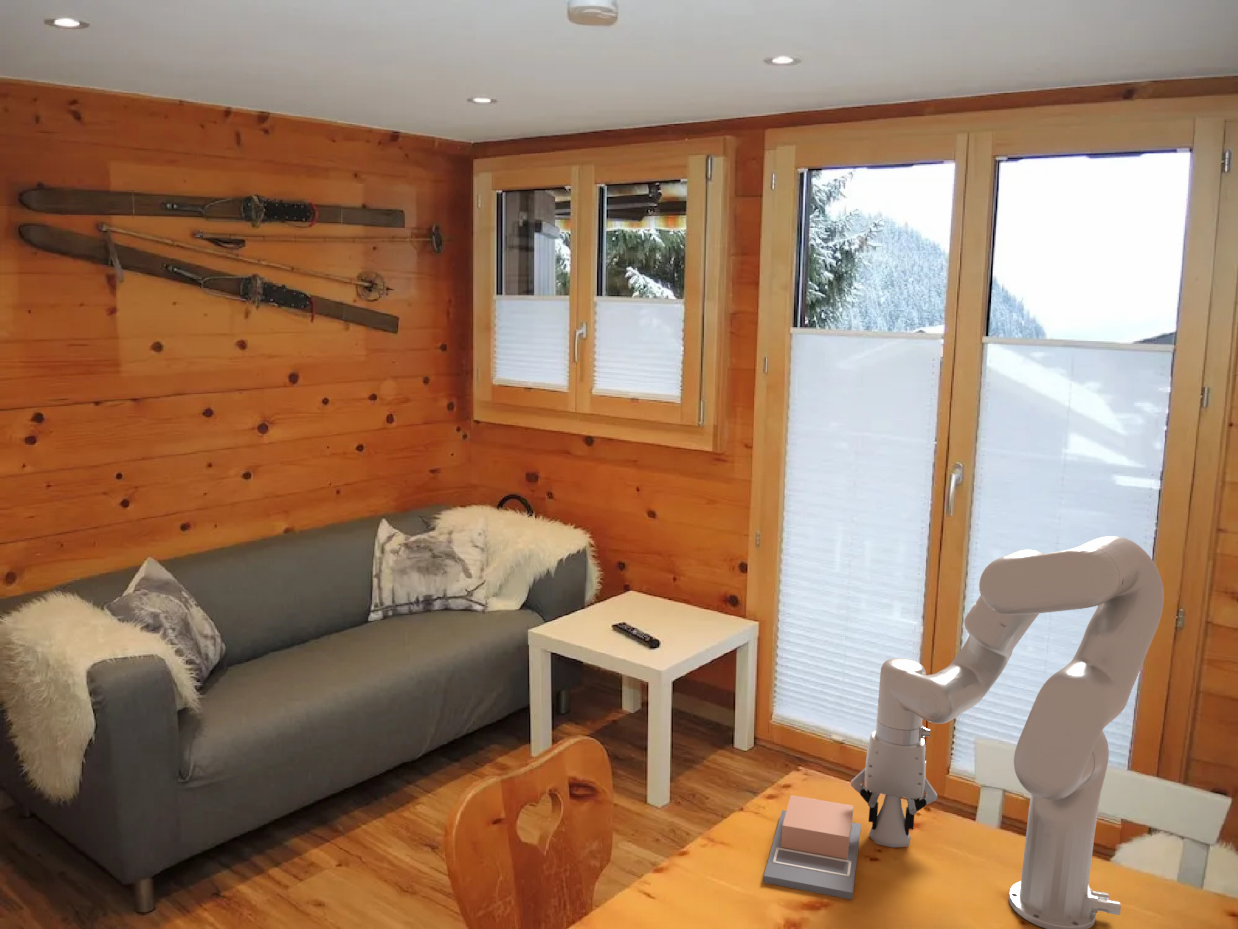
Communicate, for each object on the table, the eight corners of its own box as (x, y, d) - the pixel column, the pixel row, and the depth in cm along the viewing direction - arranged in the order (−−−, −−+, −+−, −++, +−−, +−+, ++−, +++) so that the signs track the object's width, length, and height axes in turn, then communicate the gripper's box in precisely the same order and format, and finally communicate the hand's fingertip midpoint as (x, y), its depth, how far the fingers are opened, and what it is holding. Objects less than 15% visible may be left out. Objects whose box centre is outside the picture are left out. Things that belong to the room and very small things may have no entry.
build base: (860, 830, 180) (862, 803, 180) (852, 899, 160) (854, 869, 159) (781, 816, 184) (783, 789, 183) (763, 882, 164) (765, 853, 163)
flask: (865, 826, 182) (869, 774, 180) (906, 829, 181) (911, 777, 180) (871, 847, 175) (876, 793, 173) (914, 851, 174) (919, 797, 173)
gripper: (949, 729, 176) (940, 826, 179) (849, 715, 181) (842, 810, 184) (950, 748, 169) (941, 848, 172) (846, 732, 173) (839, 830, 177)
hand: (890, 827), depth 178 cm, fingers closed on flask, 4 cm apart
